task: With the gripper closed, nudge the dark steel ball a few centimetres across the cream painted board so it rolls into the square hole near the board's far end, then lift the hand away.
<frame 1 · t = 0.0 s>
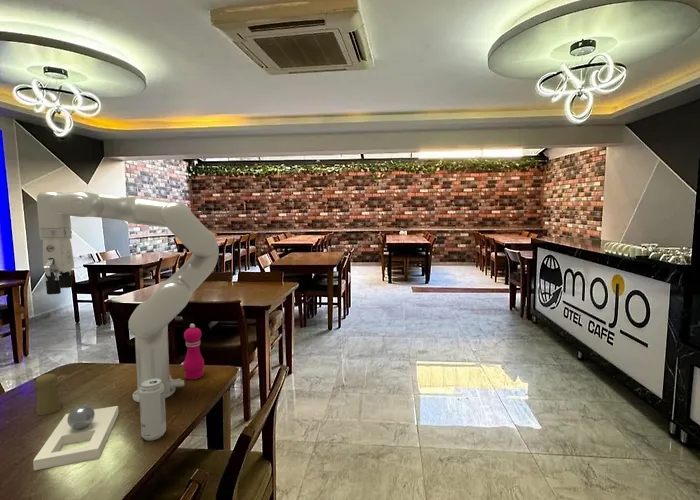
hand: (60, 290, 114), 37 cm above the table, tool pointing down, fingers open, 9 cm apart
energy drink can: (154, 435, 103), on the table
pepper mill: (194, 377, 139), on the table
ball: (81, 417, 101), point 5 cm above the table, touching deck
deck: (81, 438, 101), on the table
cork: (48, 410, 116), on the table
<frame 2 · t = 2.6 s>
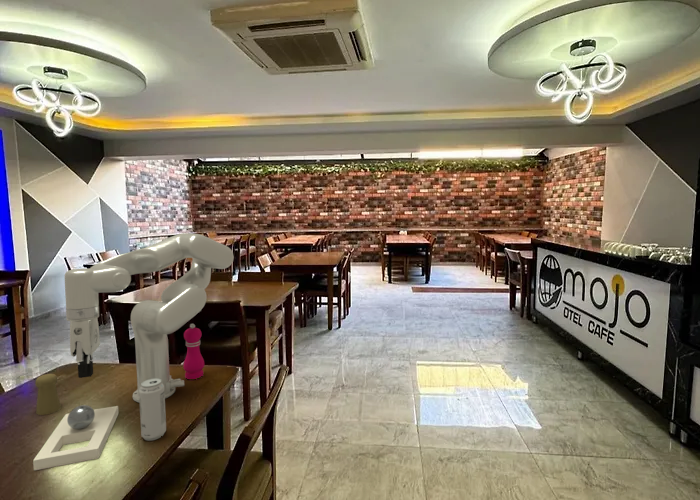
hand: (85, 376, 108), 14 cm above the table, tool pointing down, fingers closed
nothing on the table moved.
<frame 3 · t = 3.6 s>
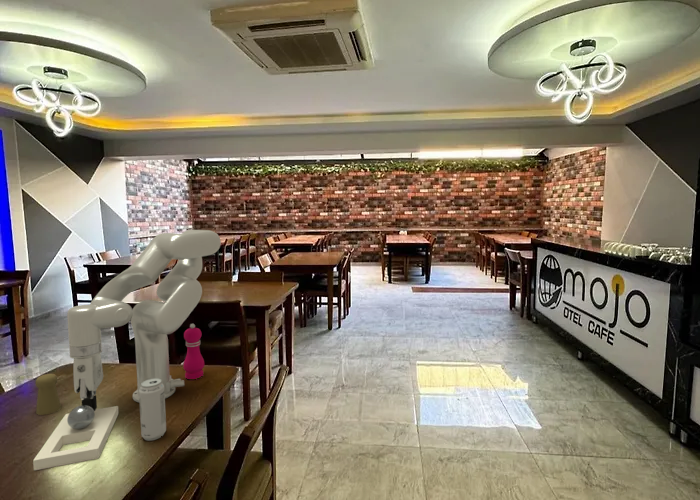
hand: (89, 410, 109), 3 cm above the table, tool pointing down, fingers closed
nothing on the table moved.
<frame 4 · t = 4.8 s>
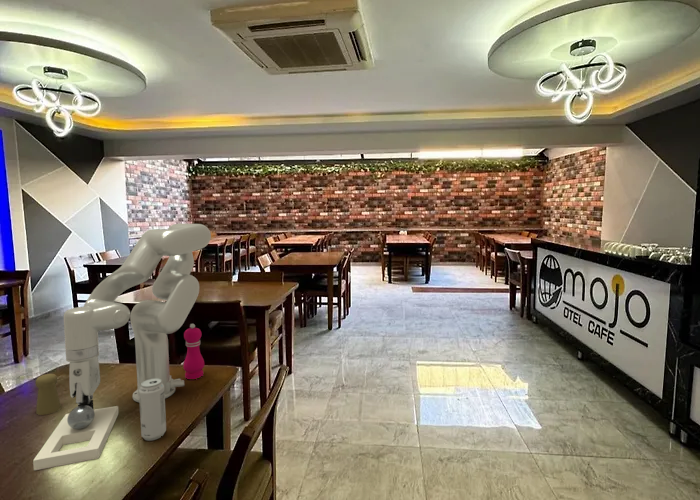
hand: (86, 415, 106), 3 cm above the table, tool pointing down, fingers closed
ball: (81, 417, 101), point 5 cm above the table, touching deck, gripper
everything else where it was.
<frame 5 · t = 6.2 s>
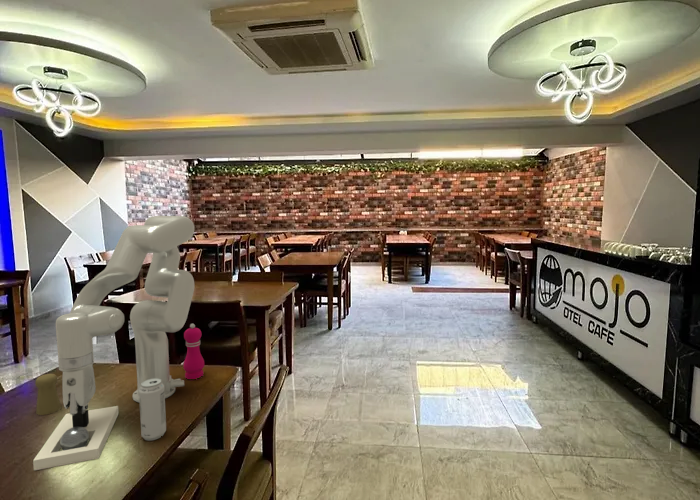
hand: (81, 426, 101), 3 cm above the table, tool pointing down, fingers closed
ball: (74, 439, 96), point 3 cm above the table, tilted 121°
everything else where it was.
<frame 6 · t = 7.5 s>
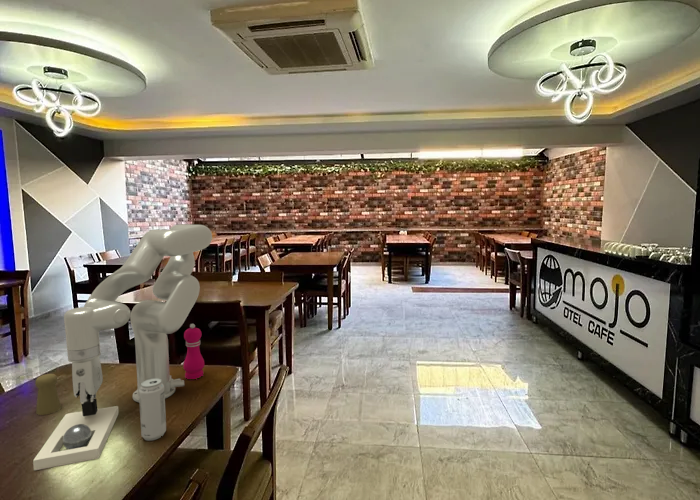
hand: (90, 413, 107), 3 cm above the table, tool pointing down, fingers closed
ball: (77, 436, 97), point 3 cm above the table, tilted 101°
everything else where it was.
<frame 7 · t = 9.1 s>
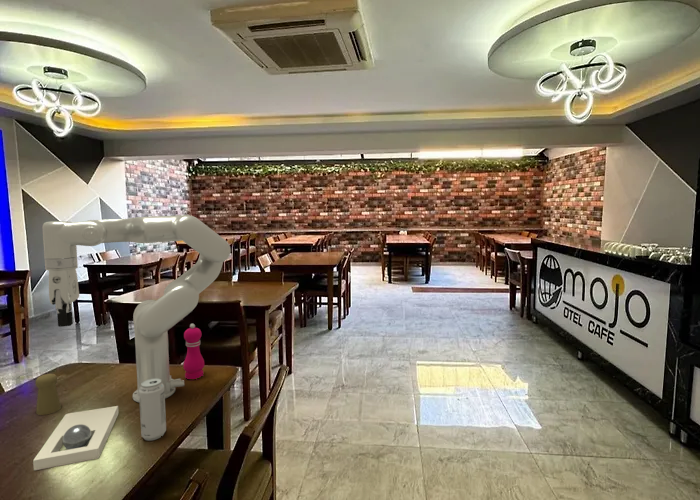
hand: (65, 325, 111), 27 cm above the table, tool pointing down, fingers closed
nothing on the table moved.
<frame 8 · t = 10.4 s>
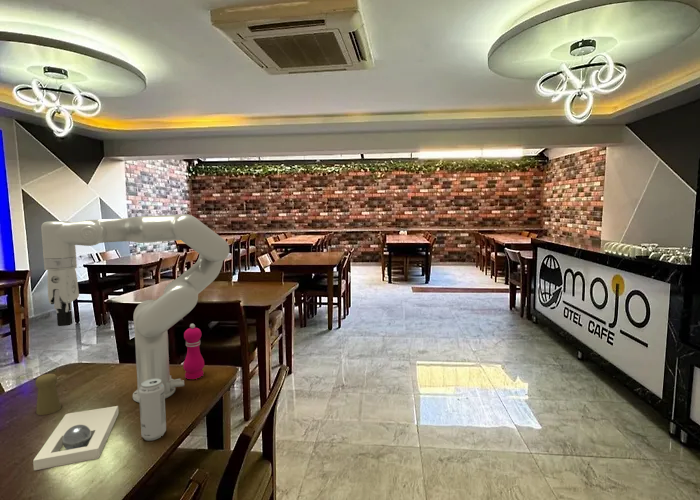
hand: (65, 324, 112), 27 cm above the table, tool pointing down, fingers closed
nothing on the table moved.
at the end: ball 0.7 cm from the target spot on the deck, point 3.0 cm above the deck's base; ball moved 6.3 cm from its start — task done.
